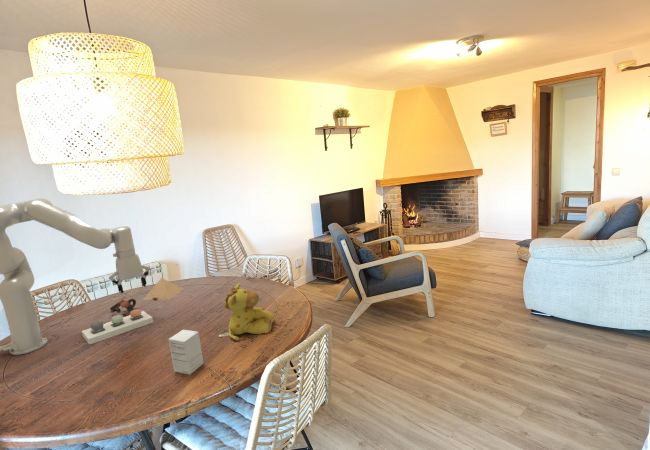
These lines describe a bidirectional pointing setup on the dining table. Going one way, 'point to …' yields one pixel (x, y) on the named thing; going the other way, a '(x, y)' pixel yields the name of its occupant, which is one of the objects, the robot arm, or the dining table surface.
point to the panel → (116, 328)
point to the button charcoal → (97, 326)
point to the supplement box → (186, 351)
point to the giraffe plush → (246, 313)
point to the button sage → (117, 320)
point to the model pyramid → (163, 290)
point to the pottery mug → (124, 306)
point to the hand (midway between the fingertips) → (133, 289)
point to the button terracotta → (136, 314)
